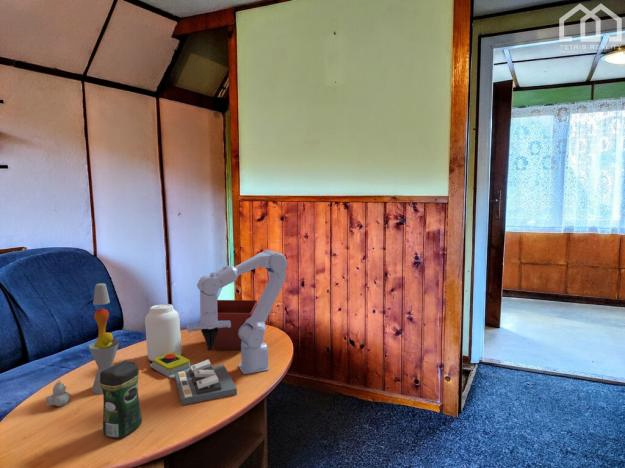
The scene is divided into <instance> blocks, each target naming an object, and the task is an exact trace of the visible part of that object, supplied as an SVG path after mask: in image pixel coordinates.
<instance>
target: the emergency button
mask: <svg viewBox="0 0 625 468" xmlns="http://www.w3.org/2000/svg"><path fill="white" fill-rule="evenodd" d="M149 366H150V368H151V369H154V370H155V371H157V372H158V373H161V374H162V375H164V376H165V377H167V378H169V379H172V380H175V373H177V372H182V371H189V369H191V366H192V365H191V361H190V359H188V358H186V357H184V356H183V355H182V354H181V355H179V354H177V353H175V352H172V353H168V354H165V355H162V356H159V357H156V358H154V359H153V361H152V363H150V365H149Z"/></svg>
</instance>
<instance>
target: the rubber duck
mask: <svg viewBox="0 0 625 468" xmlns="http://www.w3.org/2000/svg"><path fill="white" fill-rule="evenodd" d="M66 389H67V386H65V385H64V383H62V382H61V379H60V380H59V381H57V382H56V383H55V385H54V386H53V387H52V394H50V395H49V396H46V398H45V402H46V405H47V406H52V405H53V406H55V407H61V406H64V405H66V404H67V403H68V402H69V400H70V397H71V396H70V393H69V392H67V391H66Z"/></svg>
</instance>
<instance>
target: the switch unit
mask: <svg viewBox="0 0 625 468" xmlns="http://www.w3.org/2000/svg"><path fill="white" fill-rule="evenodd" d="M202 370H214V372H215V375H216V376H217V378H218V380H219V382H218V383H215V384H212V385H209V386H206V387H203V388H200V389H198V386H197V382H196V381H199V380H202V379H204V378H207V377H195V375H194V373H193V372H192V369H189V371H182V372H177V373H175V379H174V380H175V384H176V388H177V391H178V394H179V395H178V396H179V400H180V403H181V405H182V406H185V405H189V404H196V403H200V402H205V401H210V400H214V399H220V398H225V397H230V396H235V395H238V388H237V386H236V384H235V383H234V381H233V379H232V377H231V375H230V374H229V372H228V370H227V368H226V367H225V364H218V365H215V366H214V365H213V366H212V365H211V366H209V367H207V368H204V369H202Z"/></svg>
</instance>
